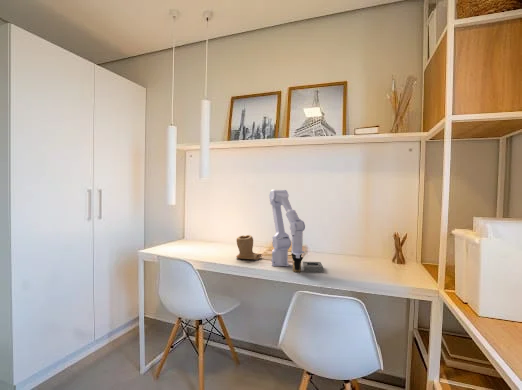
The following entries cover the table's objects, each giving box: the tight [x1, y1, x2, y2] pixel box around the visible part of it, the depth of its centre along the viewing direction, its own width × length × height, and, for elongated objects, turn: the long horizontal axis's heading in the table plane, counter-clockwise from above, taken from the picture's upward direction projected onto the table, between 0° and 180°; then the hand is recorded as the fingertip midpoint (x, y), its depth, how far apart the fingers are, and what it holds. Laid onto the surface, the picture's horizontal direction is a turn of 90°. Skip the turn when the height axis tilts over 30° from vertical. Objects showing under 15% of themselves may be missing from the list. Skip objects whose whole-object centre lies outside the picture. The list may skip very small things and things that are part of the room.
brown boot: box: [236, 234, 263, 260], centre depth 178 cm, size 15×12×15 cm
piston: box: [292, 260, 302, 273], centre depth 152 cm, size 5×5×6 cm
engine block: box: [302, 261, 324, 273], centre depth 156 cm, size 10×10×3 cm
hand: (296, 268), depth 152 cm, fingers closed on piston, 4 cm apart
